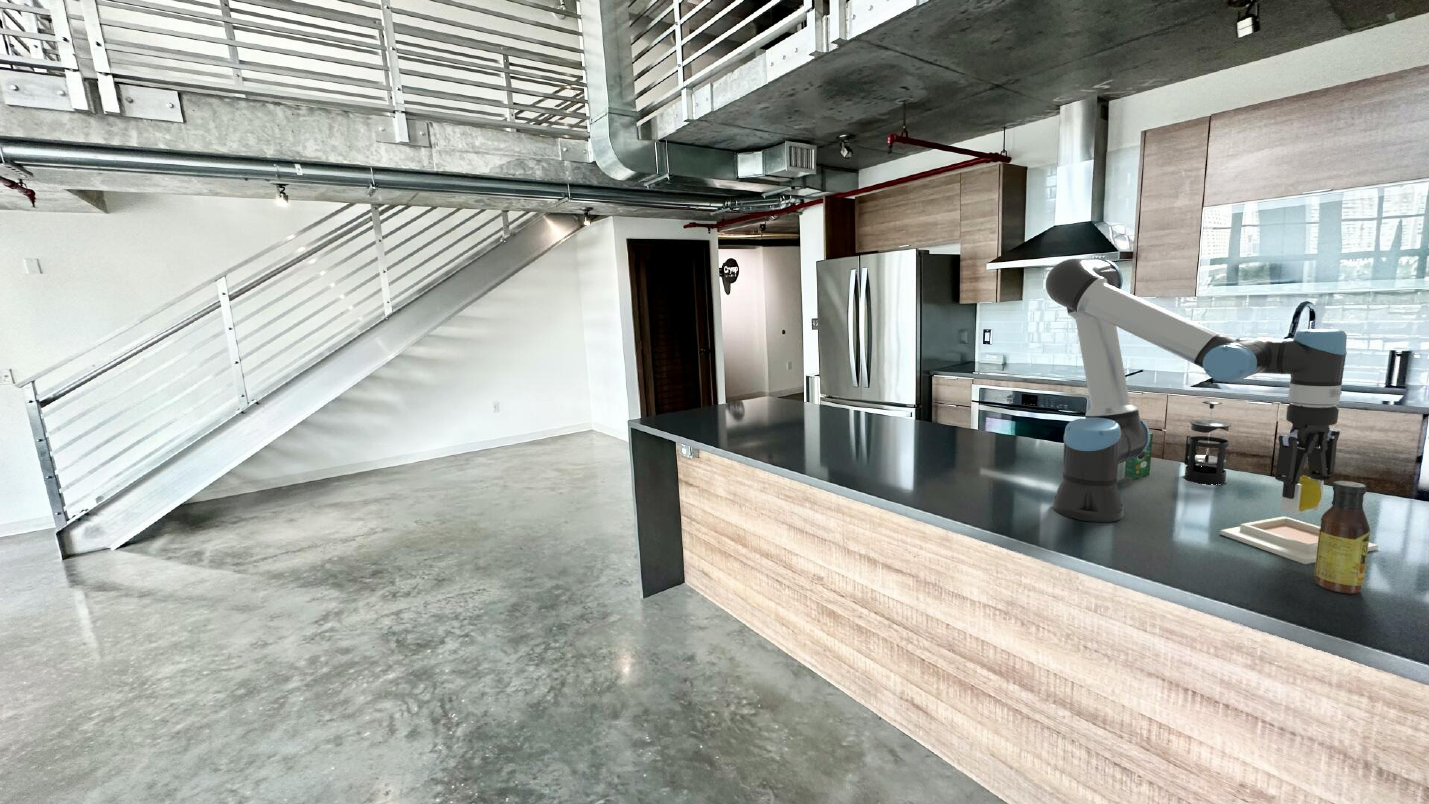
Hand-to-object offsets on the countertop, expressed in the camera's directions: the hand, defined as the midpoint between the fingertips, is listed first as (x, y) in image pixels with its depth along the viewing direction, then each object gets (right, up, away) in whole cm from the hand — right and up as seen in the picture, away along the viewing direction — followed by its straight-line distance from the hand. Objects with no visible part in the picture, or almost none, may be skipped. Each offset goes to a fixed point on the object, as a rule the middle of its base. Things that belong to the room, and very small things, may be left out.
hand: (1300, 510), depth 125 cm
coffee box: (-1, +1, +48) cm, 48 cm away
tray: (0, -7, +1) cm, 7 cm away
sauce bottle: (-11, -11, -17) cm, 23 cm away
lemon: (0, -1, 0) cm, 1 cm away
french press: (+14, +1, +42) cm, 44 cm away
